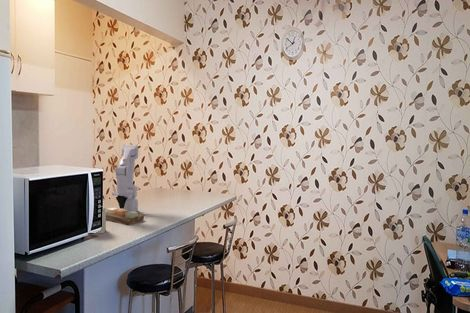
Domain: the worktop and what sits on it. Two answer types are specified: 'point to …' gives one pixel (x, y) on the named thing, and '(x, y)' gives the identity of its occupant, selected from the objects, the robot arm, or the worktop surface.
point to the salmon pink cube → (121, 212)
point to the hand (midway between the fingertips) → (121, 208)
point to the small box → (103, 221)
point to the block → (131, 214)
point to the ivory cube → (111, 210)
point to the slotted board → (124, 219)
